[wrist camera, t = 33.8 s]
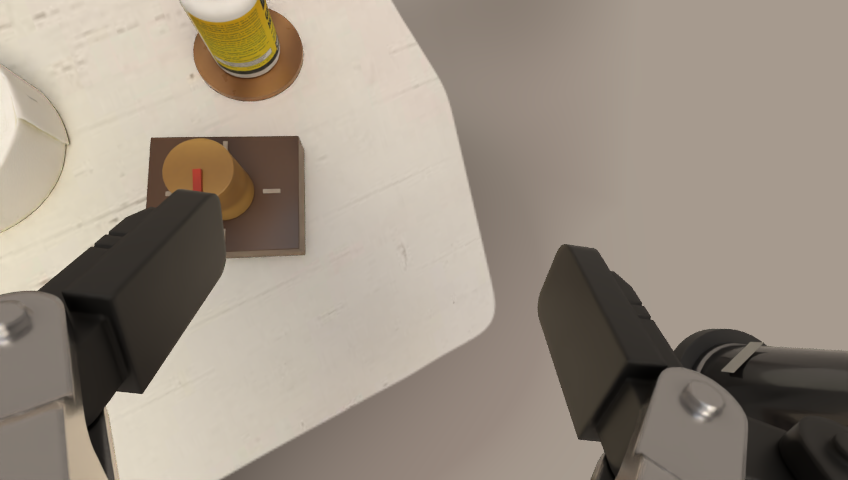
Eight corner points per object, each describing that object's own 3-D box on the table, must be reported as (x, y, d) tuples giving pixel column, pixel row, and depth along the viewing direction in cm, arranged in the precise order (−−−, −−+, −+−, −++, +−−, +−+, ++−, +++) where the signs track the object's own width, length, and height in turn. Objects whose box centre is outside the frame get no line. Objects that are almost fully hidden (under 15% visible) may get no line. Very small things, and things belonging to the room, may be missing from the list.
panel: (304, 149, 39) (298, 134, 36) (305, 254, 37) (299, 248, 34) (167, 151, 38) (149, 136, 34) (161, 261, 36) (141, 255, 33)
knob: (193, 167, 34) (159, 138, 29) (253, 163, 35) (231, 134, 30) (193, 223, 34) (159, 203, 28) (255, 217, 34) (233, 197, 29)
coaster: (302, 10, 42) (301, 6, 41) (303, 101, 40) (302, 98, 39) (197, 7, 41) (195, 3, 40) (193, 101, 39) (190, 97, 38)
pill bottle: (294, 58, 40) (265, -40, 29) (240, 92, 39) (189, 3, 28) (255, 12, 41) (212, -101, 30) (200, 44, 39) (134, -61, 29)
